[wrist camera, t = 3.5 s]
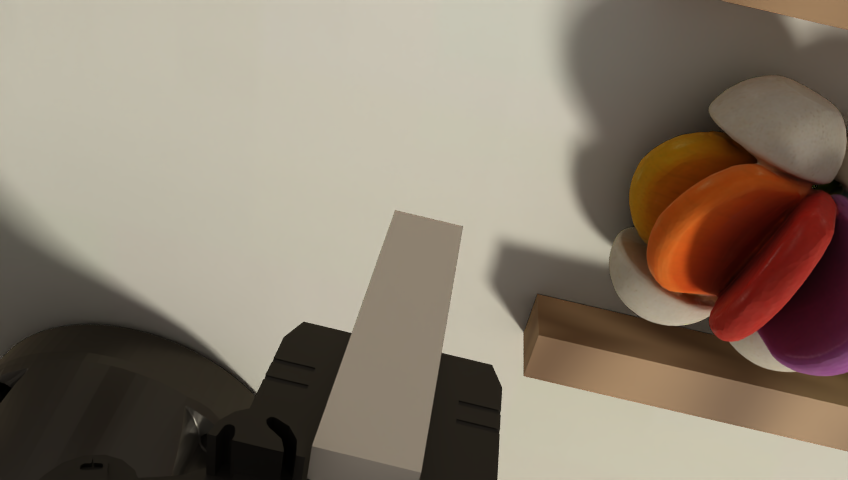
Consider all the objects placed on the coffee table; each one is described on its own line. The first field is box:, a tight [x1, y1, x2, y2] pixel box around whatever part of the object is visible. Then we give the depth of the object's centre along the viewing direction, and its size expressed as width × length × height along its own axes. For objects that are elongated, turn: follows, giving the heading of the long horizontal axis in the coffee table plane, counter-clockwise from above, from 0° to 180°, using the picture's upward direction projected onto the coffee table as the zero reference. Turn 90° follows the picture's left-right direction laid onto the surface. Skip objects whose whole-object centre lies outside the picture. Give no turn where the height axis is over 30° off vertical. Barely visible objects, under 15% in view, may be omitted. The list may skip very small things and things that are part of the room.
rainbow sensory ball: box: [609, 75, 848, 376], centre depth 20 cm, size 8×10×7 cm
